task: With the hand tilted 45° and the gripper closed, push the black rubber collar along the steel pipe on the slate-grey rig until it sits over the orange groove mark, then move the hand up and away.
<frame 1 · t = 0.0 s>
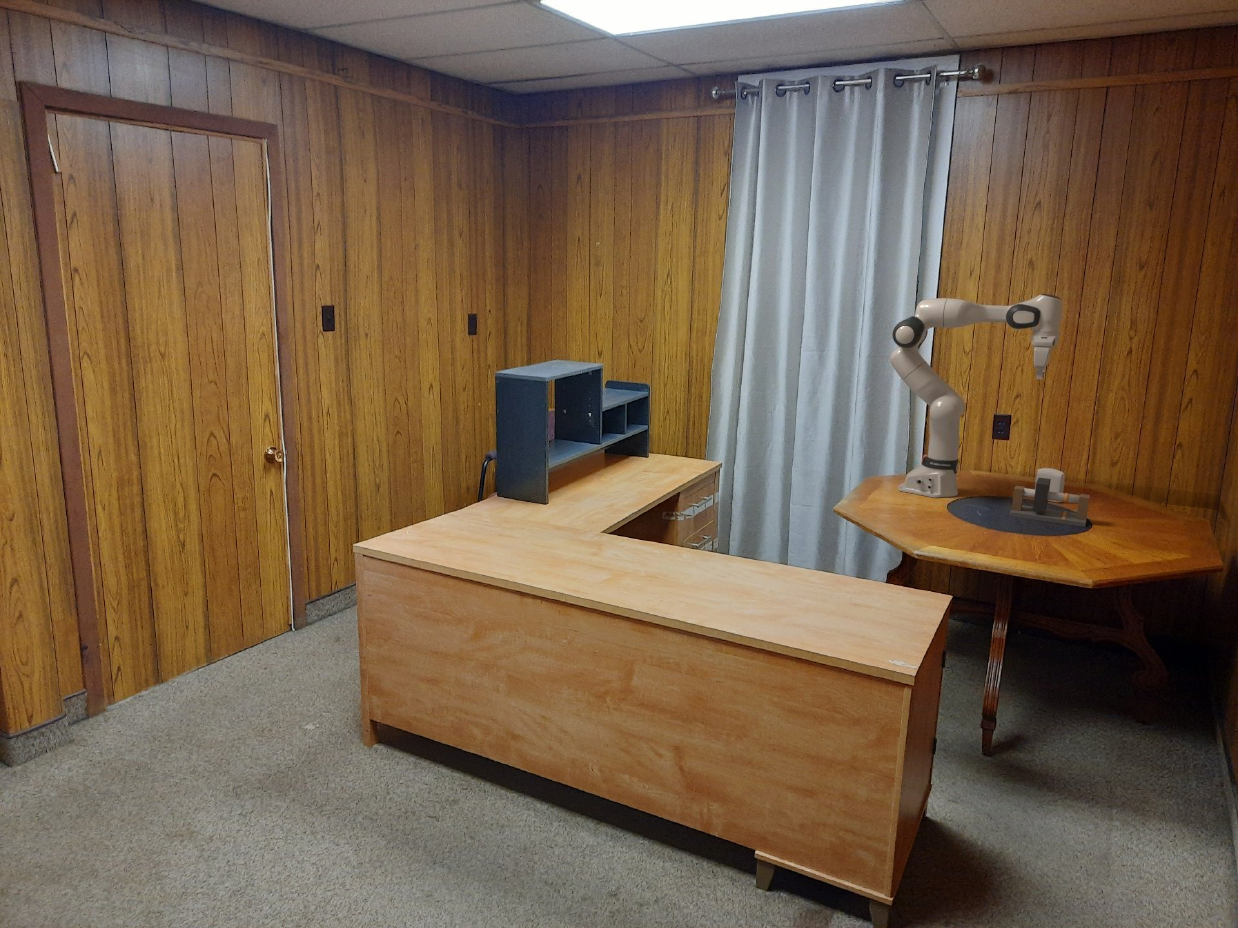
hand: (1040, 378, 314), 48 cm above the table, tool pointing down, fingers open, 8 cm apart
photo printer: (1047, 500, 332), on the table
pipe rig: (1048, 517, 309), on the table
collar: (1041, 494, 308), point 8 cm above the table, slide at 0.0 cm
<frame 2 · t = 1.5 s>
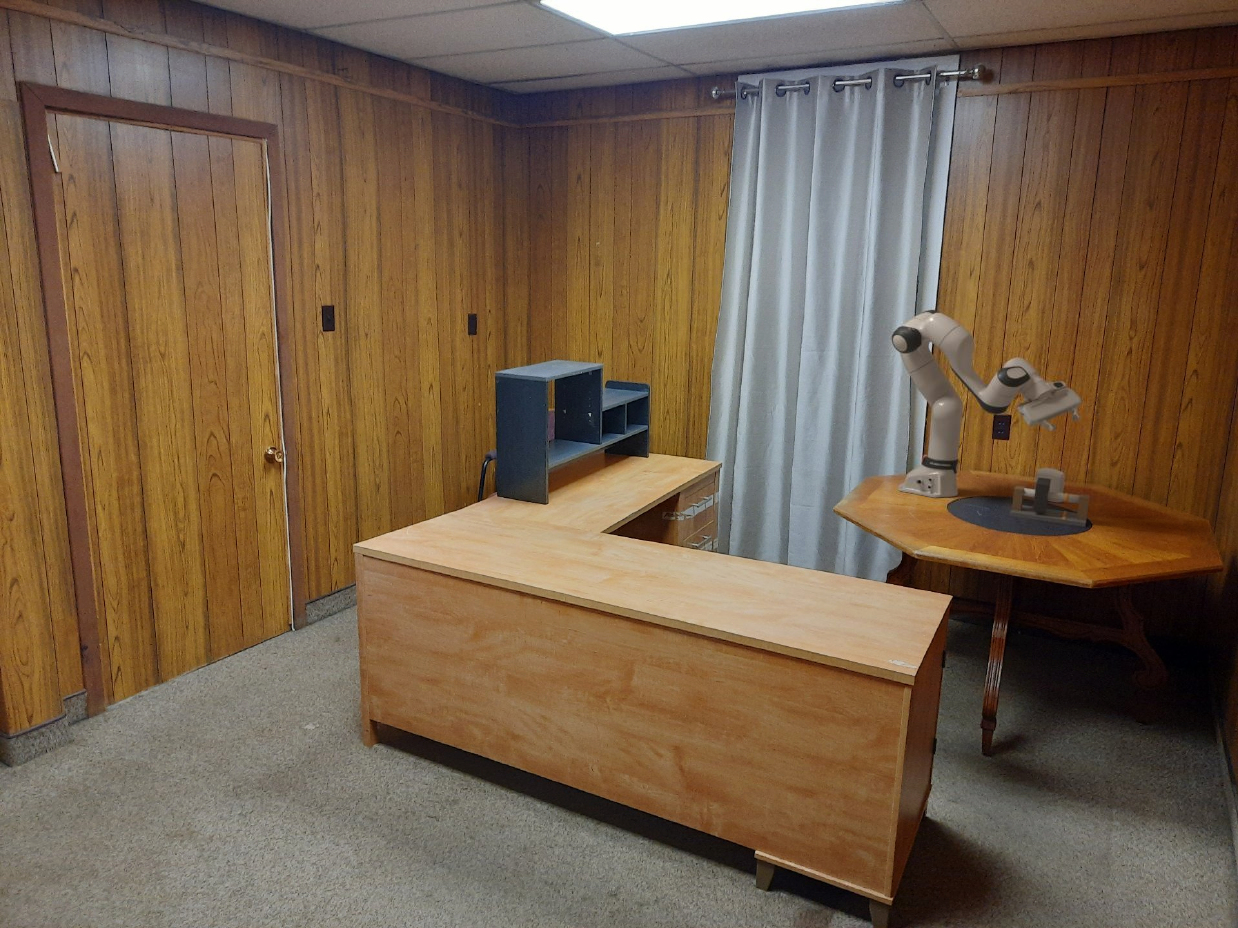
hand: (1065, 424, 292), 35 cm above the table, tool tilted 50°, fingers open, 8 cm apart
nothing on the table moved.
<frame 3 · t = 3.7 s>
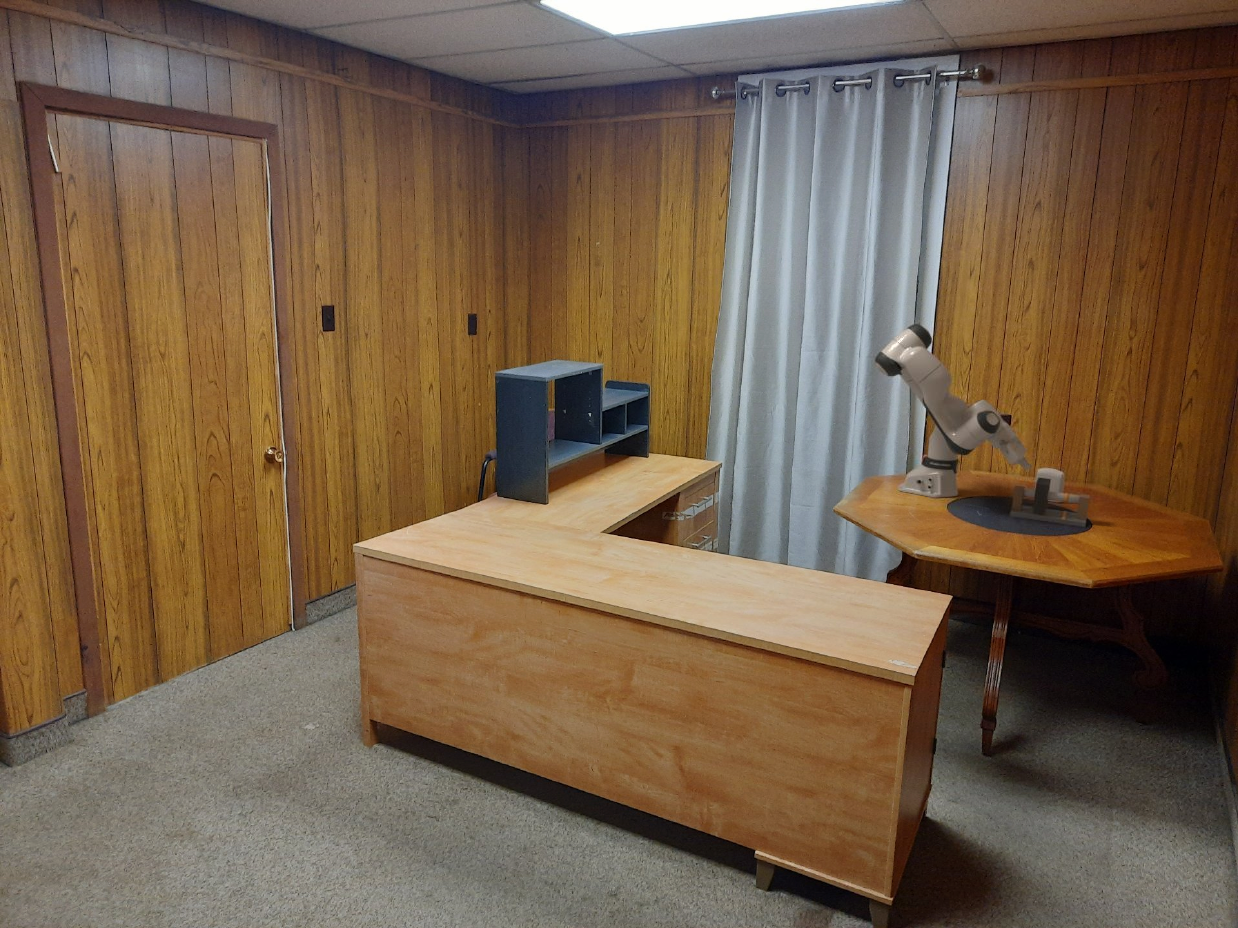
hand: (1028, 468, 308), 17 cm above the table, tool tilted 45°, fingers closed
nothing on the table moved.
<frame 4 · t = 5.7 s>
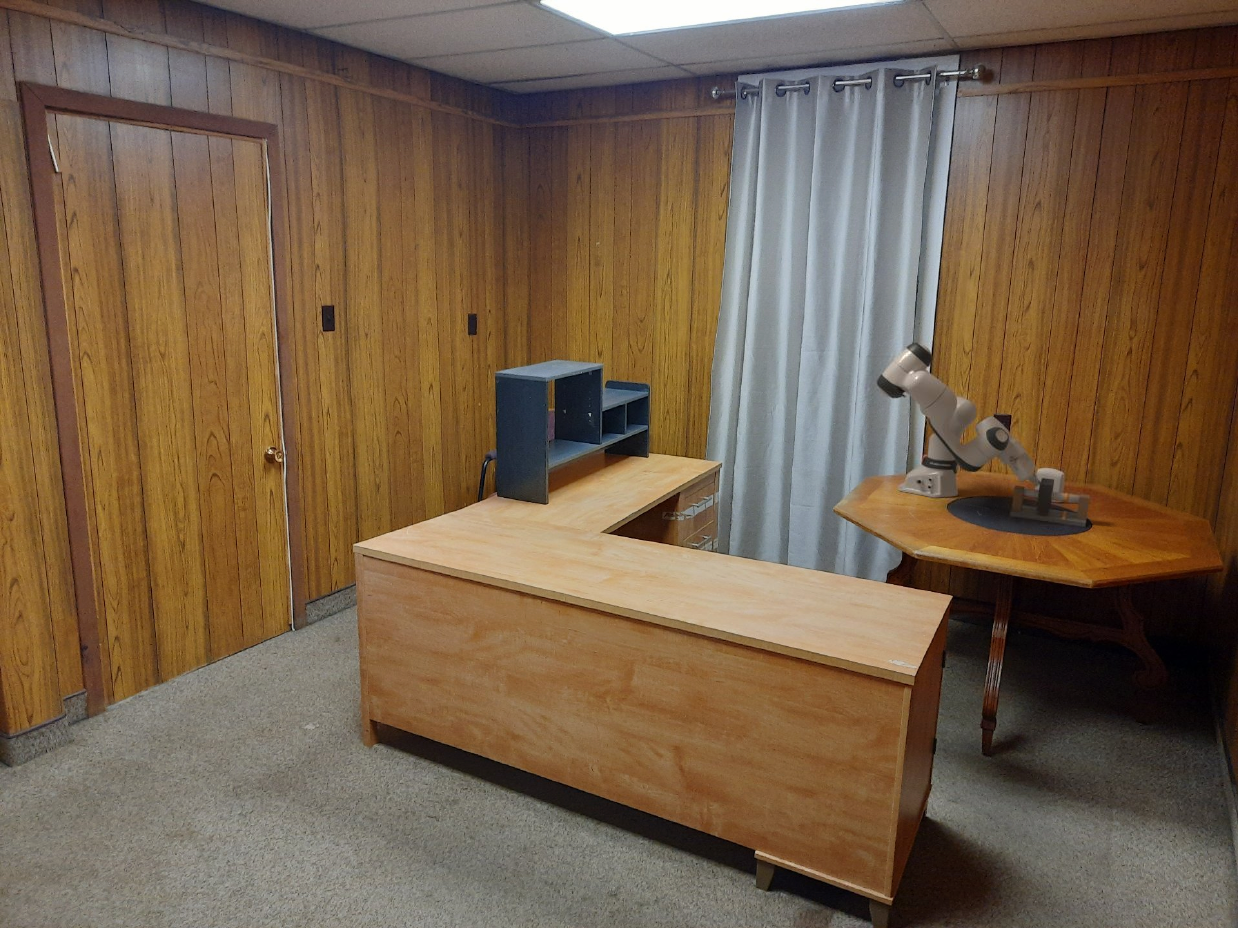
hand: (1038, 484, 308), 12 cm above the table, tool tilted 45°, fingers closed, pressing on collar
collar: (1045, 495, 308), point 8 cm above the table, slide at 1.2 cm, touching gripper
everything else where it was.
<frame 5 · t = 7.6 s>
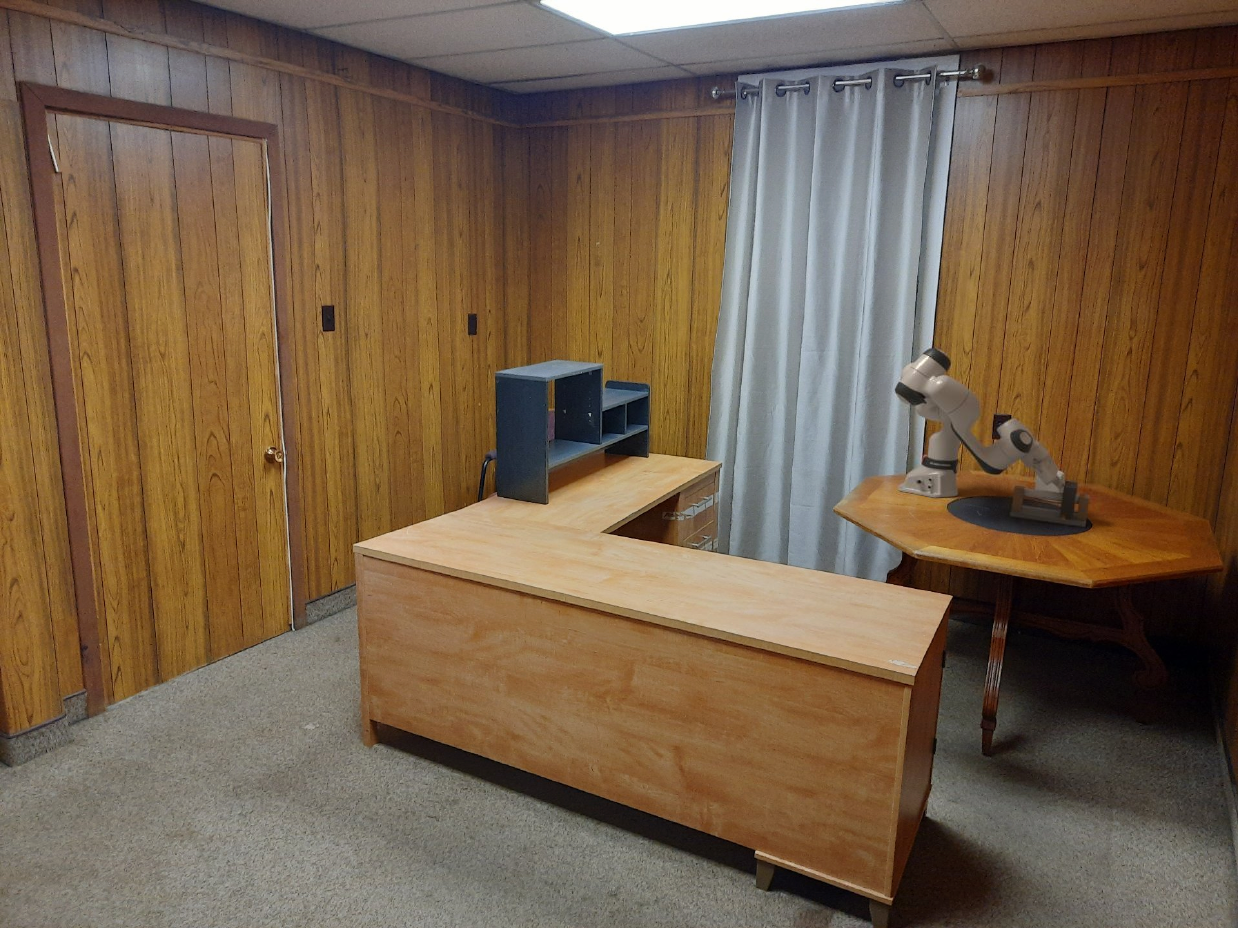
hand: (1062, 487, 304), 12 cm above the table, tool tilted 45°, fingers closed, pressing on collar
collar: (1069, 498, 304), point 8 cm above the table, slide at 8.8 cm, touching gripper
everything else where it was.
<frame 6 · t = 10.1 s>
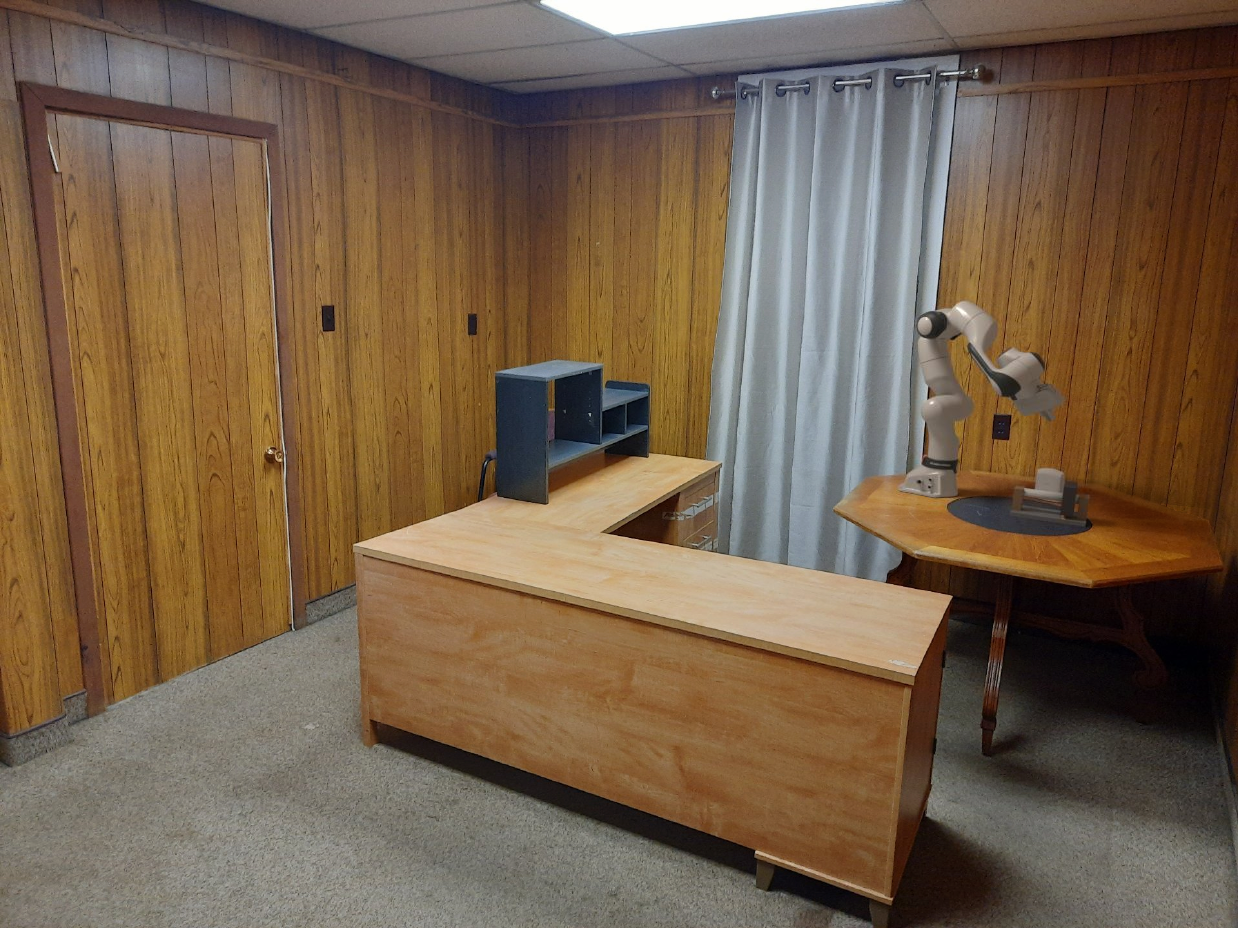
hand: (1052, 420, 308), 34 cm above the table, tool tilted 40°, fingers closed
collar: (1069, 498, 304), point 8 cm above the table, slide at 8.8 cm
everything else where it was.
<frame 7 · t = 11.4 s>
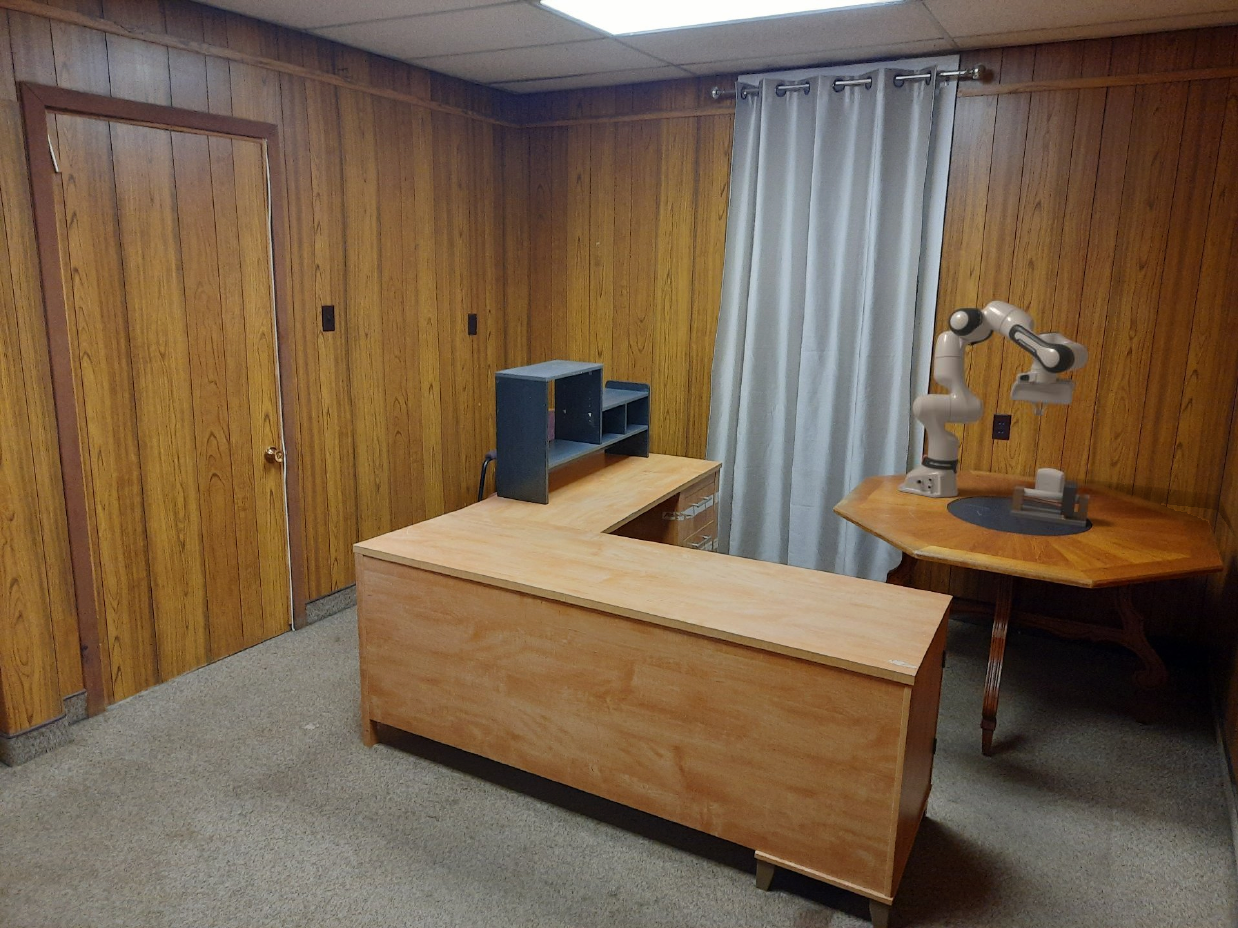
hand: (1038, 414, 313), 35 cm above the table, tool pointing down, fingers closed
nothing on the table moved.
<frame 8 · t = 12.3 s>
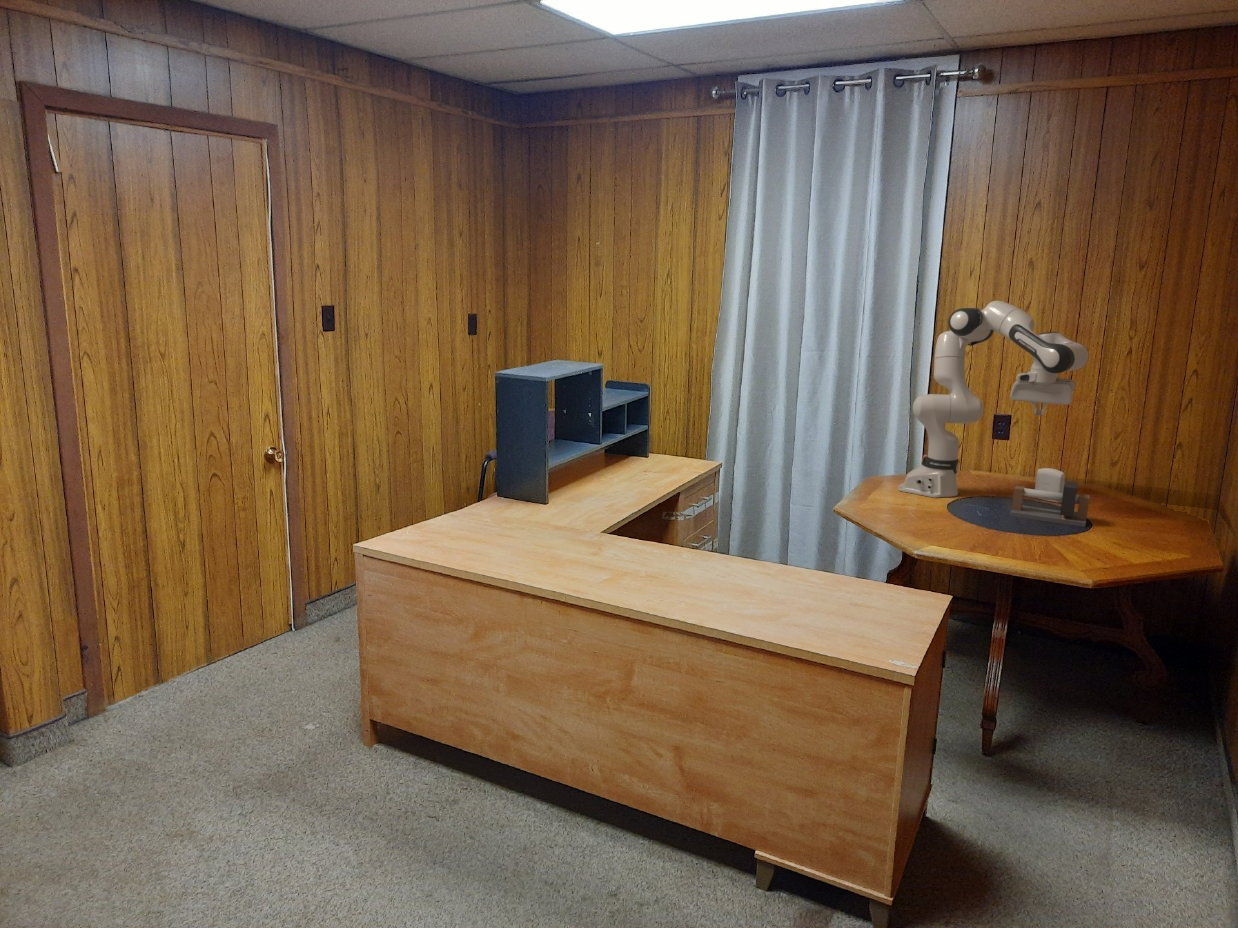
hand: (1038, 414, 313), 35 cm above the table, tool pointing down, fingers closed
nothing on the table moved.
at the end: collar slide at 8.8 cm; photo printer moved 0.2 cm from its start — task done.
